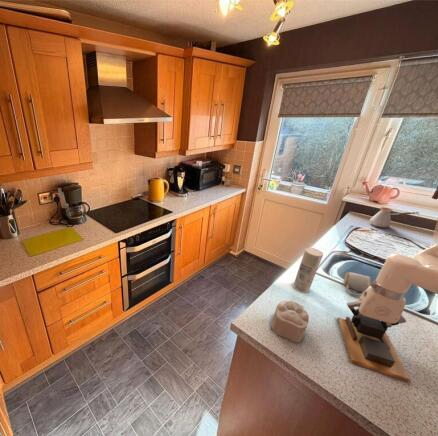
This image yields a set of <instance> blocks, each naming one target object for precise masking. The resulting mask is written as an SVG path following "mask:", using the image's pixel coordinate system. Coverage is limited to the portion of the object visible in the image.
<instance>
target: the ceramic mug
mask: <svg viewBox="0 0 438 436" xmlns="http://www.w3.org/2000/svg"><path fill="white" fill-rule="evenodd" d="M369 282H371V277H370V276H368V275H364V274H360V273H355V272H352V271H351V272H350V271H347V272H346V273H345V275H344V277H343V281H342V284H343V286H344V287H345V289H346V292H347V293H348V294H350V295H351V296H353V297H359V298H360V297H361V295H362V294H363V293H364V292H365V290H366V289H367V288H368V287H370V286H368V283H369ZM350 289H351V290H354V291H357V292H360V293H354V292H352V291H351V290H350Z"/></svg>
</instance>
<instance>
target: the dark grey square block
mask: <svg viewBox="0 0 438 436" xmlns="http://www.w3.org/2000/svg"><path fill="white" fill-rule="evenodd" d="M360 319H361V321H360V322H359V324H358V326H357V327H356V330H357V332H358V333H362V334H365V335H368V336H371V337H375V338H378V339H381V338H382V337H383V335H384V334H385V332H386V333H387V330H386V331H385V329H384V327H383V325H382V323H381V320H377V319H373V318H370V317H366V316H362V317H361V318H360Z"/></svg>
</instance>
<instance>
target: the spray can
mask: <svg viewBox="0 0 438 436" xmlns="http://www.w3.org/2000/svg"><path fill="white" fill-rule="evenodd" d="M323 256H324V253H323V252H322V251H321V250H319V249H317V248H315V247H305V249H304V252H303V254H302V258H301V261H300V264H299V267H298V270H297V274H296V276H295V279H294V282H293V287H294V289H295V290H297V291H298V292H301V293H308V292H309V291H310V289H311V286H312V284H313V282H314V279H315V276H316V274H317V271H318V268H319V267H320V264H321V261H322V259H323Z"/></svg>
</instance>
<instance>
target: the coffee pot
mask: <svg viewBox="0 0 438 436" xmlns="http://www.w3.org/2000/svg"><path fill="white" fill-rule="evenodd" d="M391 212H393V209H392V208H389V207H381V206H380V208H379V211H378V212H376V213H375V214H374V215H373V216H372V217H371V218H370V219H369V222H370V224H371V225H372V226H373V227H377V228H383V229H385V228H388V227H391V226H392V218H391V216H396V215H415V214H417V215H418V216H420V212H417V211H416V212H395V213H391Z"/></svg>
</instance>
